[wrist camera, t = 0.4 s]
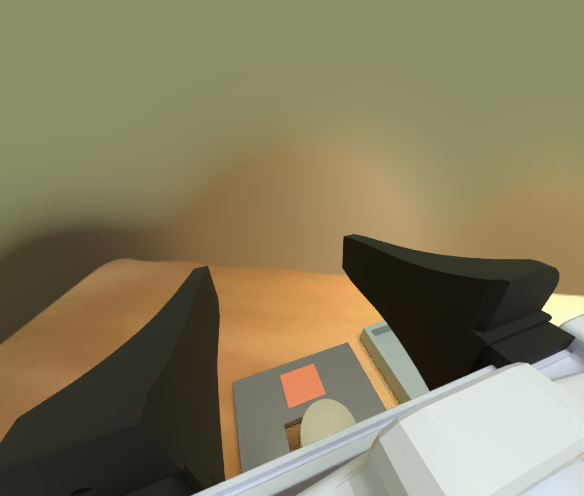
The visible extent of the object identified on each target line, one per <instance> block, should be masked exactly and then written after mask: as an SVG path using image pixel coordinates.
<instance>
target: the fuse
mask: <svg viewBox="0 0 584 496" xmlns="http://www.w3.org/2000/svg"><path fill="white" fill-rule="evenodd" d="M354 424H356V421H355V419H354V418H353V416H352V414H351V413H350V412H349V410H348V409H347V408H346V407H345V406H343V405H342V404H341V403H339V402H337V401H335V400H332V399H321V400H318V401H316V402H314V403H313V404H312V405H310V406H309V408H308V409H307V410H306V412H305V414H304V416H303V419H302V423H301V432H300V440H301V442H300V448H302V447H304V446H306V445H308V444H311V443H313V442H315V441H318V440H320V439H322V438H324V437H327V436H329V435H331V434H334V433H336V432H338V431H341V430H343V429H345V428H347V427H350V426H352V425H354Z"/></svg>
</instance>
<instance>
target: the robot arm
mask: <svg viewBox="0 0 584 496" xmlns="http://www.w3.org/2000/svg"><path fill="white" fill-rule="evenodd" d="M342 268H343V269H344V271H345V272H346V274H347V276H348V277H349V279H350V280H351V281H352V283H353V284H354V285H355V286H356V287H357V288H358V290H359V291H360V292H361V293H362V294H363V295H364V296H365V297H366V299H367V300H368V301H369V302H370V303H371V304H372V305H373V306H374V307H375V309H376V310H377V311H378V312H379V313H380V315H381V316H382V317H383V319H384V320H385V321H386V323H387V324H388V326H389V327H390V328H391V330H392V331H393V333H394V334H395V336H396V337H397V339H398V340H399V342H400V343H401V345H402V346H403V348H404V349H405V351H406V352H407V354H408V356H409V357H410V359H411V360H412V362H413V364H414V365H415V367H416V368H417V370H418V372H419V374H420V375H421V377H422V379H423V381H424V382H425V384H426V386H427V388H428V389H429V391H430V392H428V393H425V394H423V395H421V396H419V397H416V398H414V399H412V400H409V401H407V402H405V403H403V404H400V405H398V406H396V407H393V408H391V409H389V410H386V411H384V412H382V413H380V414H377V415H375V416H373V417H370V418H368V419H366V420H364V421H361V422H359V423H357V424H354V425H352V426H350V427H347V428H345V429H343V430H341V431H338V432H336V433H334V434H331V435H329V436H327V437H324V438H322V439H320V440H318V441H315V442H313V443H311V444H308V445H306V446H304V447H302V448H299V449H297V450H295V451H292V452H290V453H288V454H285V455H283V456H281V457H279V458H276V459H274V460H272V461H269V462H267V463H265V464H263V465H260V466H258V467H256V468H253V469H251V470H249V471H246V472H244V473H242V474H240V475H237V476H235V477H233V478H230V479H228V480H226V481H225V474H224V462H223V451H222V439H221V425H220V411H219V395H218V375H217V357H218V339H219V321H220V314H219V301H218V296H217V293H216V290H215V287H214V284H213V281H212V278H211V274H210V271H209V268H208V266H205V267H200V268H196V269H194V270H193V271H192V272H191V274H190V275H189V276H188V278H187V279H186V280H185V282H184V283H183V284H182V285H181V287H180V288H179V289H178V291H177V292H176V293H175V294H174V295H173V297H172V298H171V299H170V300H169V301H168V302H167V303H166V305H165V306H164V307H163V308H162V309H161V310H160V311H159V312H158V313H157V314H156V315H155V316H154V317H153V318H152V319H151V320H150V321H149V322H148V323H147V324H146V325H145V326H144V327H143V328H142V329H141V330H140V331H139V332H138V333H136V334H135V335H134V336H133V337H132V338H130V339H129V340H128V341H127V342H126V343H124V344H123V345H122V346H121V347H120V348H118V349H117V350H116V351H115V352H114V353H112V354H111V355H110V356H108V357H107V358H106V359H104V360H103V361H102V362H100V363H99V364H98V365H96V366H95V367H94V368H92V369H91V370H90V371H88V372H87V373H85V374H84V375H83V376H81V377H80V378H78V379H77V380H75V381H74V382H72V383H71V384H70V385H68V386H67V387H65V388H64V389H62V390H60V391H59V392H57V393H56V394H54V395H53V396H51V397H50V398H48V399H47V400H45V401H43V402H42V403H40V404H39V405H37V406H36V407H34V408H33V409H31V410H30V411H28V412H26V413H25V414H23V415H22V416H20V417H18V418H17V420H16V421H15V422H14V424H13V425H12V427H11V428H10V429H9V431H8V432H7V434H6V435H5V437H4V438H3V439H2V441H1V442H0V496H584V462H583V461H584V314H582V315H580V316H578V317H575V318H573V319H571V320H568V321H566V322H564V323H563V324H561V325H560V326H559V327H557V326H556V325H554V324H552V323H550V322H548V321H550V320H551V319H552V317H551V315H549V314H547V313H546V312H544V311H542V310H541V309H542V308H543V306H544V305H545V303H546V302H547V300H548V299H549V297H550V296H551V294H552V293H553V291H554V289H555V288H556V286H557V284H558V281H559V272H558V270H557V269H556V268H554V267H552V266H550V265H547V264H544V263H542V262H539V261H535V260H530V259H527V260H526V259H521V260H519V259H518V260H517V259H480V258H466V257H455V256H446V255H440V254H433V253H427V252H422V251H417V250H412V249H408V248H404V247H400V246H396V245H392V244H389V243H385V242H382V241H378V240H375V239H372V238H368V237H365V236H360V235H355V234H352V235H348V236H344V240H343V263H342Z"/></svg>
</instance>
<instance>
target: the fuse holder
mask: <svg viewBox="0 0 584 496" xmlns="http://www.w3.org/2000/svg"><path fill="white" fill-rule="evenodd" d="M233 392H234V402H235V411H236V421H237V431H238V440H239V450H240V460H241V469H242V473H244V472H246V471H249V470H251V469H253V468H256V467H258V466H260V465H263V464H265V463H267V462H269V461H272V460H274V459H276V458H279V457H281V456H283V455H285V454H288V453H290V447H289V443H288V439H287V435H286V431H285V428H288V427H290V426H293V425H295V424H297V423H300V422H302V419H303V416H304V414H305V412H306V410H307V409H308V408H309V406H310V405H312V404H313V403H314V402H316V401H318V400H321V399H332V400H335V401H337V402H339V403H341V404H342V405H343V406H345V407H346V408H347V409H348V410H349V412H350V413H351V414H352V416H353V418H354V419H355V421H356V424H357V423H359V422H361V421H364V420H366V419H368V418H370V417H373V416H375V415H377V414H380V413H382V412H384V411H386V409H385V407H384V405H383V403H382V402H381V400H380V398H379V396H378V394H377V393H376V391H375V389H374V387H373V386H372V384H371V382H370V380H369V379H368V377H367V375H366V373H365V371H364V370H363V368H362V366H361V364H360V363H359V361H358V359H357V357H356V356H355V354H354V352H353V350H352V349H351V347H350V345H349V343H348V342H347V343H344V344H341V345H339V346H336V347H333V348H330V349H327V350H324V351H321V352H318V353H316V354H313V355H310V356H307V357H304V358H301V359H298V360H295V361H293V362H290V363H287V364H284V365H281V366H278V367H275V368H272V369H270V370H267V371H264V372H261V373H258V374H255V375H252V376H249V377H247V378H244V379H241V380H238V381H235V382H233Z"/></svg>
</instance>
